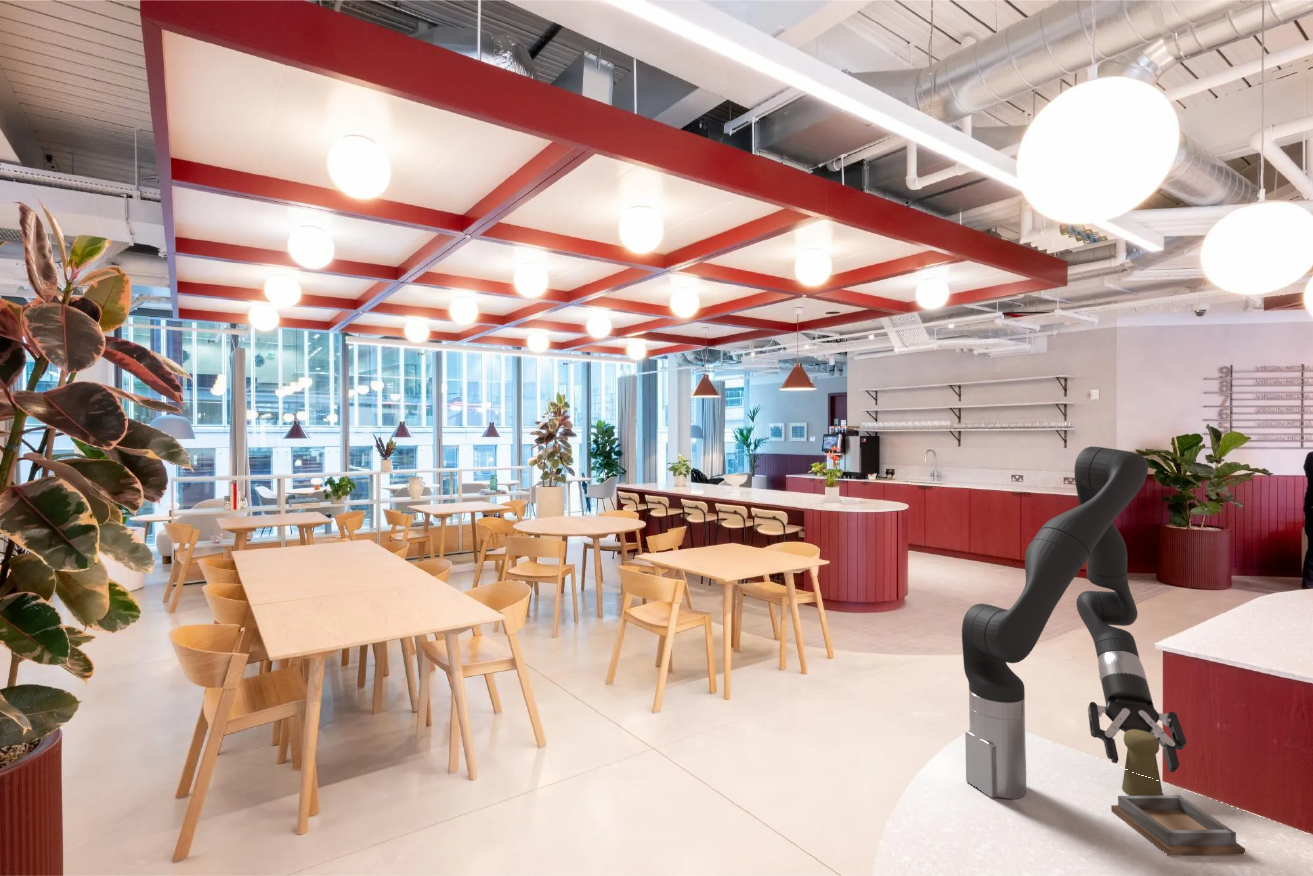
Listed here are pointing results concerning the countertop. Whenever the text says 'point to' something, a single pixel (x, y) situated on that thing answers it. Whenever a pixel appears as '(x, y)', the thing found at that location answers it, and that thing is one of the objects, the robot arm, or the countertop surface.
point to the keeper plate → (1177, 825)
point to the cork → (1141, 764)
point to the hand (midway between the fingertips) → (1143, 765)
